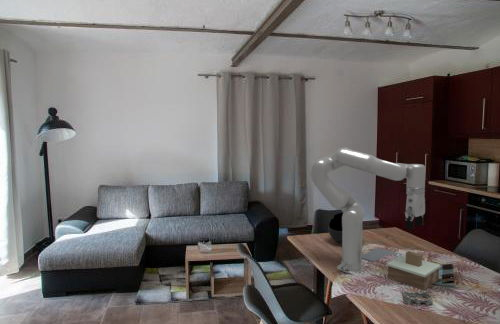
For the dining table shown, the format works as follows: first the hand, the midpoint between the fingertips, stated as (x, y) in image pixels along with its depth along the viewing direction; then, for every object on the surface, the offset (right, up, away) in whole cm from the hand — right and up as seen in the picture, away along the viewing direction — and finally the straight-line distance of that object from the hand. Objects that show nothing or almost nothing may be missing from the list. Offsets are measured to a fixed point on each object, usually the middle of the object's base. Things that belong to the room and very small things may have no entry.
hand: (414, 227), depth 154 cm
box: (-1, -25, 0) cm, 25 cm away
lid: (-1, -18, -1) cm, 18 cm away
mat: (-1, -23, +28) cm, 36 cm away
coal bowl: (-17, -21, +54) cm, 60 cm away
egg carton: (-9, -27, -20) cm, 34 cm away
